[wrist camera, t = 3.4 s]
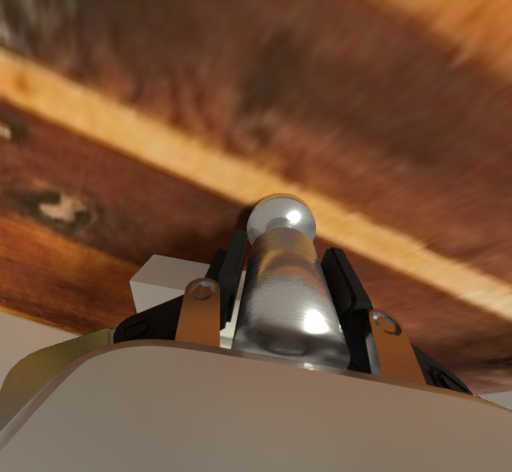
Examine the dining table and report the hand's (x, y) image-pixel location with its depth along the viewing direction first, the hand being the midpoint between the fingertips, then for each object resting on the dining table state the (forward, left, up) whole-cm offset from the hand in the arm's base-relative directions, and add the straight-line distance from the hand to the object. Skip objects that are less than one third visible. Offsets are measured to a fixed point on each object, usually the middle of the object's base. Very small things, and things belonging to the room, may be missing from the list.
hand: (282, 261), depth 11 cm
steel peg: (0, 0, -5) cm, 5 cm away
